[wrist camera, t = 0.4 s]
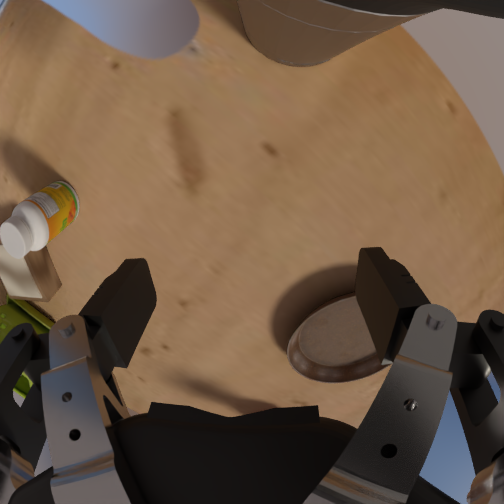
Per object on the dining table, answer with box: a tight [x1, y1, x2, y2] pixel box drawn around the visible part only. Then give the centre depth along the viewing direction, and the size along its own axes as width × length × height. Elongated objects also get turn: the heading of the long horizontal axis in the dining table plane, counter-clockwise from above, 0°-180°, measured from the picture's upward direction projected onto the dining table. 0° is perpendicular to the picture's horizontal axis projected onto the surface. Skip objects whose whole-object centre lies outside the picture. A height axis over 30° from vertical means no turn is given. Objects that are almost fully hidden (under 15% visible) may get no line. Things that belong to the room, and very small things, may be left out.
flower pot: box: [0, 294, 55, 398], centre depth 34 cm, size 14×14×13 cm
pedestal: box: [0, 238, 62, 302], centre depth 30 cm, size 10×10×4 cm
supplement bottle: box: [0, 181, 79, 259], centre depth 23 cm, size 5×5×10 cm
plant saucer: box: [287, 293, 392, 383], centre depth 35 cm, size 18×18×3 cm
